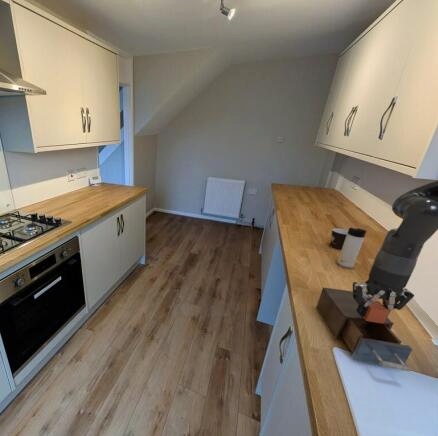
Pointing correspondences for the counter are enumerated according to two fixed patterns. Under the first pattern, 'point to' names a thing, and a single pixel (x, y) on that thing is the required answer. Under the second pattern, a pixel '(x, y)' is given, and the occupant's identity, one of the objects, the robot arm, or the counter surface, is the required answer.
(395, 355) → the drawer
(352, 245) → the travel mug
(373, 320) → the block
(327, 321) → the cabinet
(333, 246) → the coffee mug
